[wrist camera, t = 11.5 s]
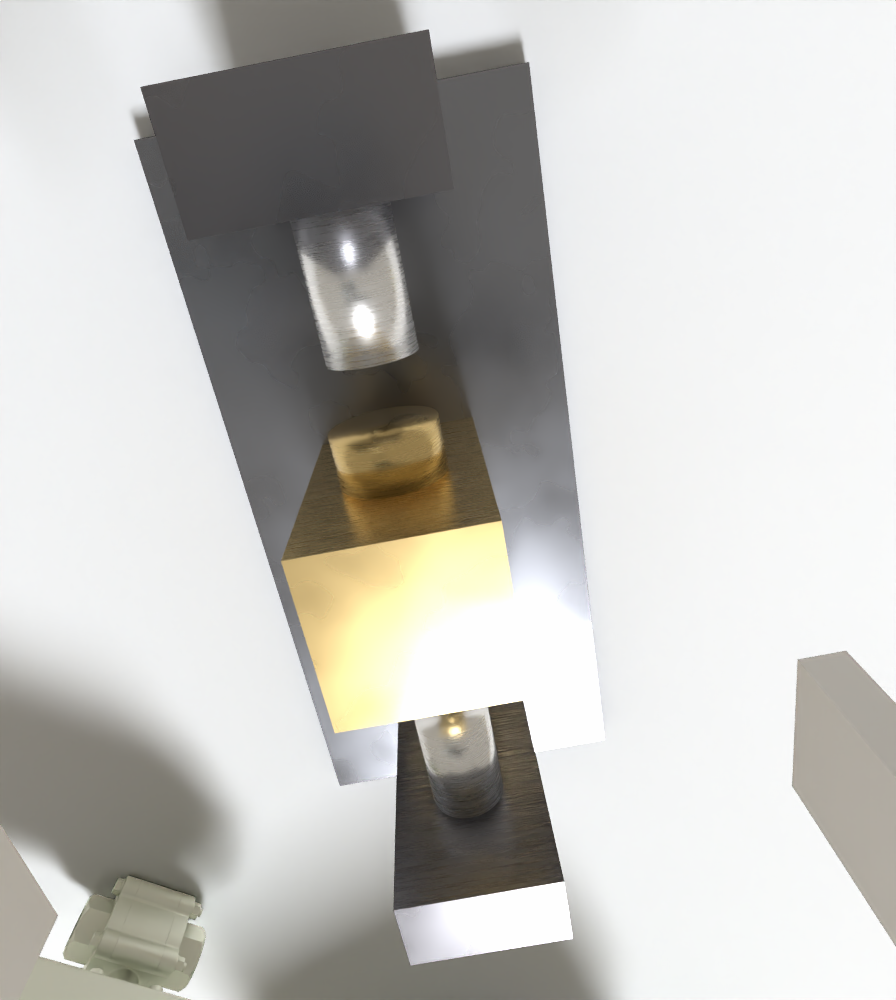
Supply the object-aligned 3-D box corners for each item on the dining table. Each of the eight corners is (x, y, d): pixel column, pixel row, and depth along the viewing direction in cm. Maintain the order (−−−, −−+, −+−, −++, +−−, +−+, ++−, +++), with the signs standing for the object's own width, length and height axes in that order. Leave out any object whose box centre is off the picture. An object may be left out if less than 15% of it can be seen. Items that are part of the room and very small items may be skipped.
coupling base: (141, 142, 20) (-37, 104, 12) (525, 65, 20) (603, -24, 12) (341, 774, 29) (315, 986, 21) (601, 729, 29) (672, 927, 21)
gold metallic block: (310, 401, 22) (262, 500, 15) (464, 372, 22) (491, 458, 15) (366, 611, 26) (349, 777, 18) (501, 586, 25) (538, 744, 18)
